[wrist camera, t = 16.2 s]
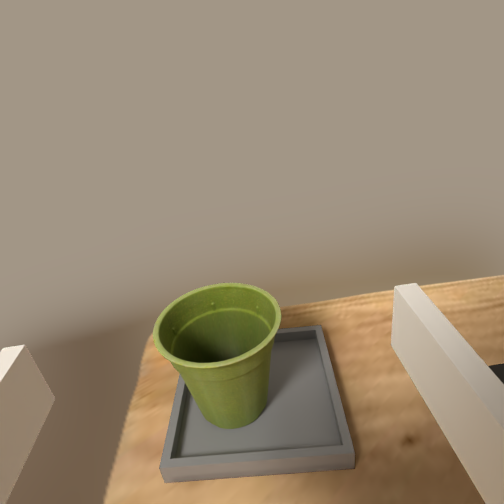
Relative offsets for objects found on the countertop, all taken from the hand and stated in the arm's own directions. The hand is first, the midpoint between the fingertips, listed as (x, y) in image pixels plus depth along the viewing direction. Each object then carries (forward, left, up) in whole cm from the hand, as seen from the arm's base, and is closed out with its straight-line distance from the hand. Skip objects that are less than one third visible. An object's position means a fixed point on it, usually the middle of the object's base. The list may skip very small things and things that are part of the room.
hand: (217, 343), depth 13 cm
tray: (-15, -10, -24) cm, 30 cm away
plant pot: (-13, -11, -23) cm, 29 cm away
